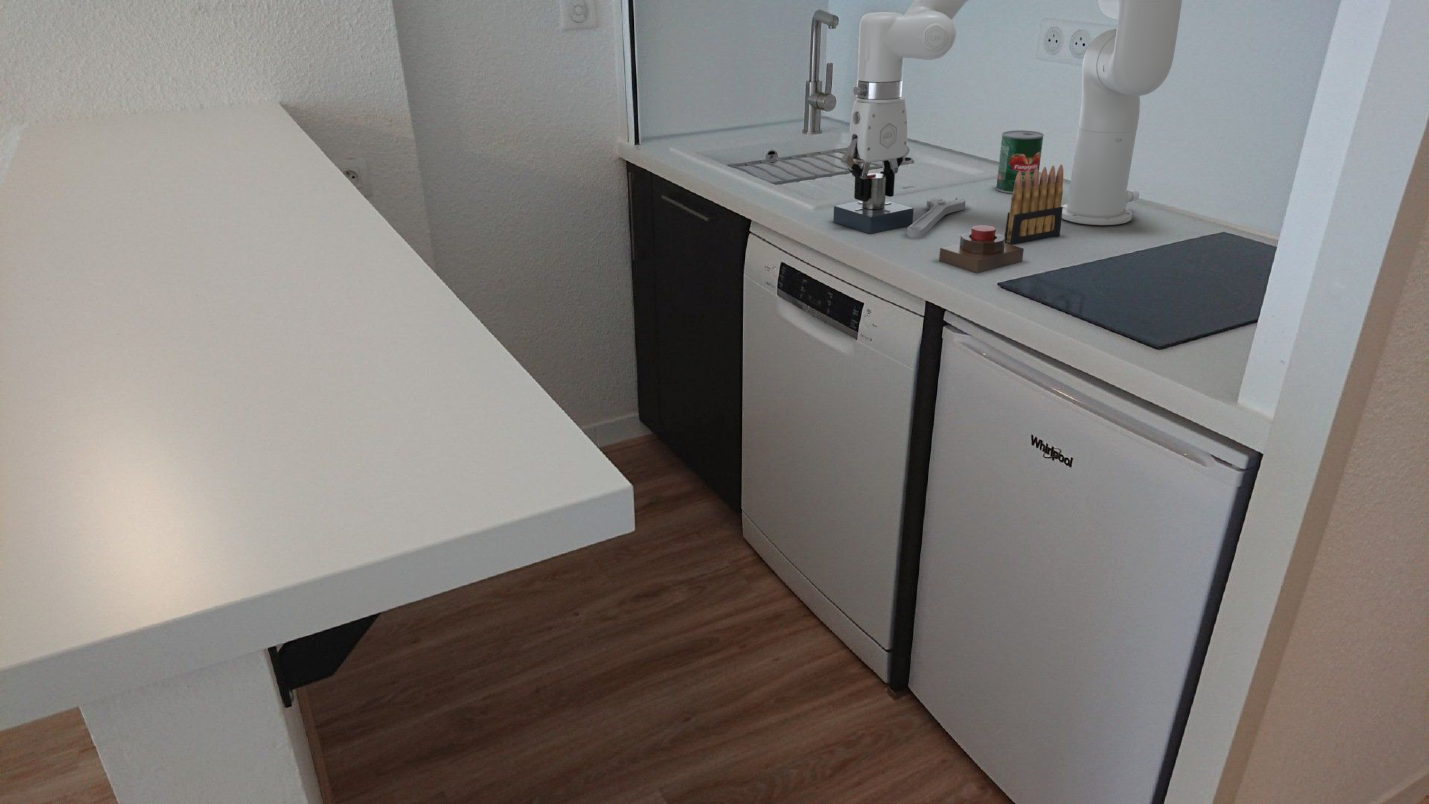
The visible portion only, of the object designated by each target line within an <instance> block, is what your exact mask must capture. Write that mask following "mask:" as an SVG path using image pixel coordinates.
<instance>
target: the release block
mask: <svg viewBox="0 0 1429 804" xmlns="http://www.w3.org/2000/svg"><path fill="white" fill-rule="evenodd" d="M1004 236H1005V235H1003V234H1001V233H997V232H996V233H995V240H988V241H982V240H975V239H971V231H968V232H963V233H962V234H961V235H960V241H959V243H955V244H950V245H947V246H942V247H940V248H939V257H938V258H939V259H938V261H939V262H941V263H944V264H947V265H950V266H953V267H957V268H959V269H962V270H965V271H968V272H972V273H974V274H982V273H984V272H988V271H992V270H996V269H1001V268H1004V267H1007V266H1010V265H1011V266H1012V265H1015V264H1018V263H1023V261H1024V260H1023V259H1024V250H1025V249H1024V248H1023V247H1021V246H1017V245H1015V244H1014V245H1010V244H1007V243H1005V237H1004Z"/></svg>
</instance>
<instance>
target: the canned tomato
mask: <svg viewBox="0 0 1429 804" xmlns="http://www.w3.org/2000/svg"><path fill="white" fill-rule="evenodd" d="M1044 134H1045V133H1043V132H1040V131H1036V130H1019V129H1018V130H1007V131H1004V132H1002V133H1001V140H1000V142H1001V143H1000V151H999V162H998V170H997V179H996V188H995V190H996V191H998V192H1001V193H1004V194H1010V195H1011V194H1012V195H1013V190H1014V184H1015V180H1016V176H1017V174H1018V172H1019V171H1021V174H1022V187H1023V181H1024V177H1025V174H1026V172H1027V170H1028V169H1029V171H1030V175H1031V181H1032V177H1033V174H1034V171H1035V169H1036V168H1038V171H1039V172H1040V166H1041V157H1042V151H1043V142H1044V136H1045V135H1044ZM1030 187H1031V184H1030Z"/></svg>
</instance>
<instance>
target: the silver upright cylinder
mask: <svg viewBox="0 0 1429 804" xmlns="http://www.w3.org/2000/svg"><path fill="white" fill-rule="evenodd" d="M886 177H887V176H886V175H884V174H880V172H877V173H876V172H875V173H873V172H872V173H871V172H870V173H868V175H867V178H868V179H869V180H870V186H869V200H868V201H867V202H864V201H862V207H863V208H866V209H882V208H884V207H885V200H886V196H885V195H886Z"/></svg>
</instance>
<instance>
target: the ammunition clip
mask: <svg viewBox="0 0 1429 804" xmlns="http://www.w3.org/2000/svg"><path fill="white" fill-rule="evenodd" d="M1030 184H1031V187H1030ZM1063 187H1064V166H1063V164H1060V165H1059V167H1058V168H1057V171H1056V168H1055V165H1052V166H1051V167H1050V169H1049V172H1048V170H1047V167H1046V166H1043V168H1042V171H1041V173H1040V170H1039V171H1038V168H1036V169H1035V171H1034V174H1033V177H1032V181H1031V175H1030V171H1029V169H1028V170H1027V172H1026V174H1025V177H1024V181H1023V187H1022V174H1021V171H1019V172H1018V174H1017V176H1016V180H1015V184H1014V190H1013V194H1012V196H1011V199H1010V207H1009V212H1007V215H1006V216H1007V217H1006V223H1005V230H1004V235H1003V236H1004V237H1005V243H1007V244H1010V245H1014V246H1015V245H1020V244H1024V243H1030V242H1035V241H1036V242H1037V241H1041V240H1047V239H1052V238H1058V237H1059V238H1060V235H1061V227H1062V220H1063V219H1062V209H1063V207H1061V206H1062V201H1063V195H1064V194H1063V192H1064V188H1063Z"/></svg>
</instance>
